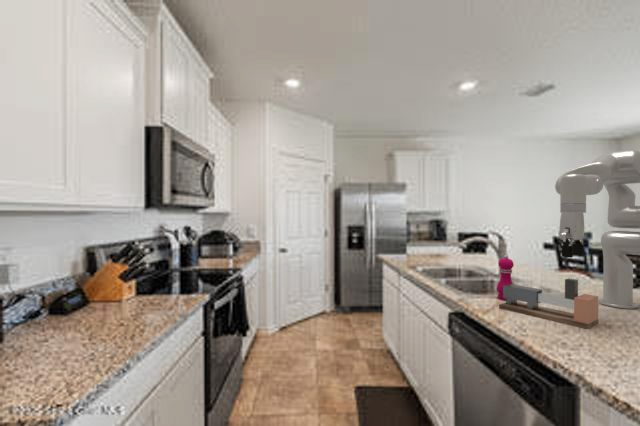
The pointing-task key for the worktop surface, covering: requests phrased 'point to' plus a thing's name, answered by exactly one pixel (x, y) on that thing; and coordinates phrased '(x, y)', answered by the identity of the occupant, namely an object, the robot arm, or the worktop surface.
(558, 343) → the worktop surface
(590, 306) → the socket block
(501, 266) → the pepper mill
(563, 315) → the base board
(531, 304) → the outer sleeve
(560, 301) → the tube
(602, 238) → the robot arm
